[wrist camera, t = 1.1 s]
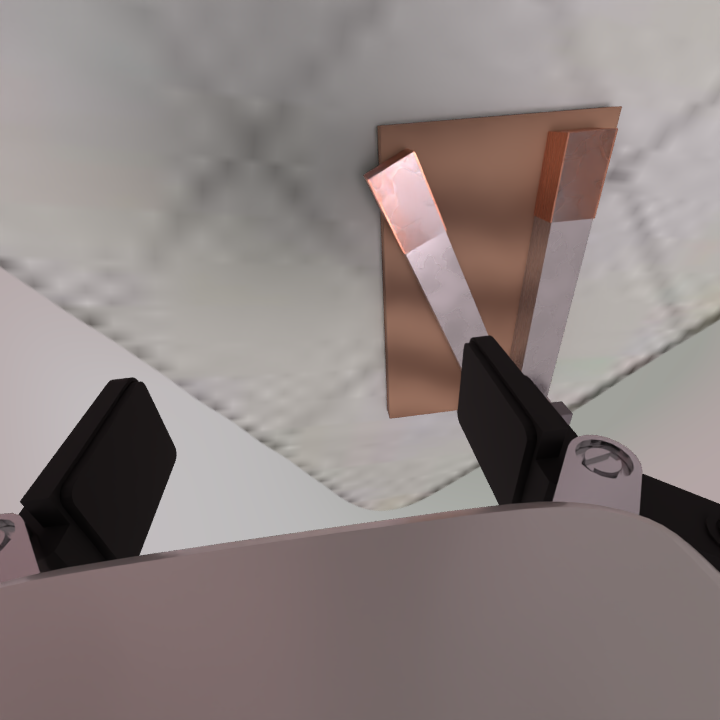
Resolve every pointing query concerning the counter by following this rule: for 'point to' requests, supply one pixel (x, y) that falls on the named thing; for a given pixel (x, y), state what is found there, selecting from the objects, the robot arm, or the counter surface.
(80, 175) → the counter surface
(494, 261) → the walnut board
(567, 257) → the tongs fixed
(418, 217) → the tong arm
